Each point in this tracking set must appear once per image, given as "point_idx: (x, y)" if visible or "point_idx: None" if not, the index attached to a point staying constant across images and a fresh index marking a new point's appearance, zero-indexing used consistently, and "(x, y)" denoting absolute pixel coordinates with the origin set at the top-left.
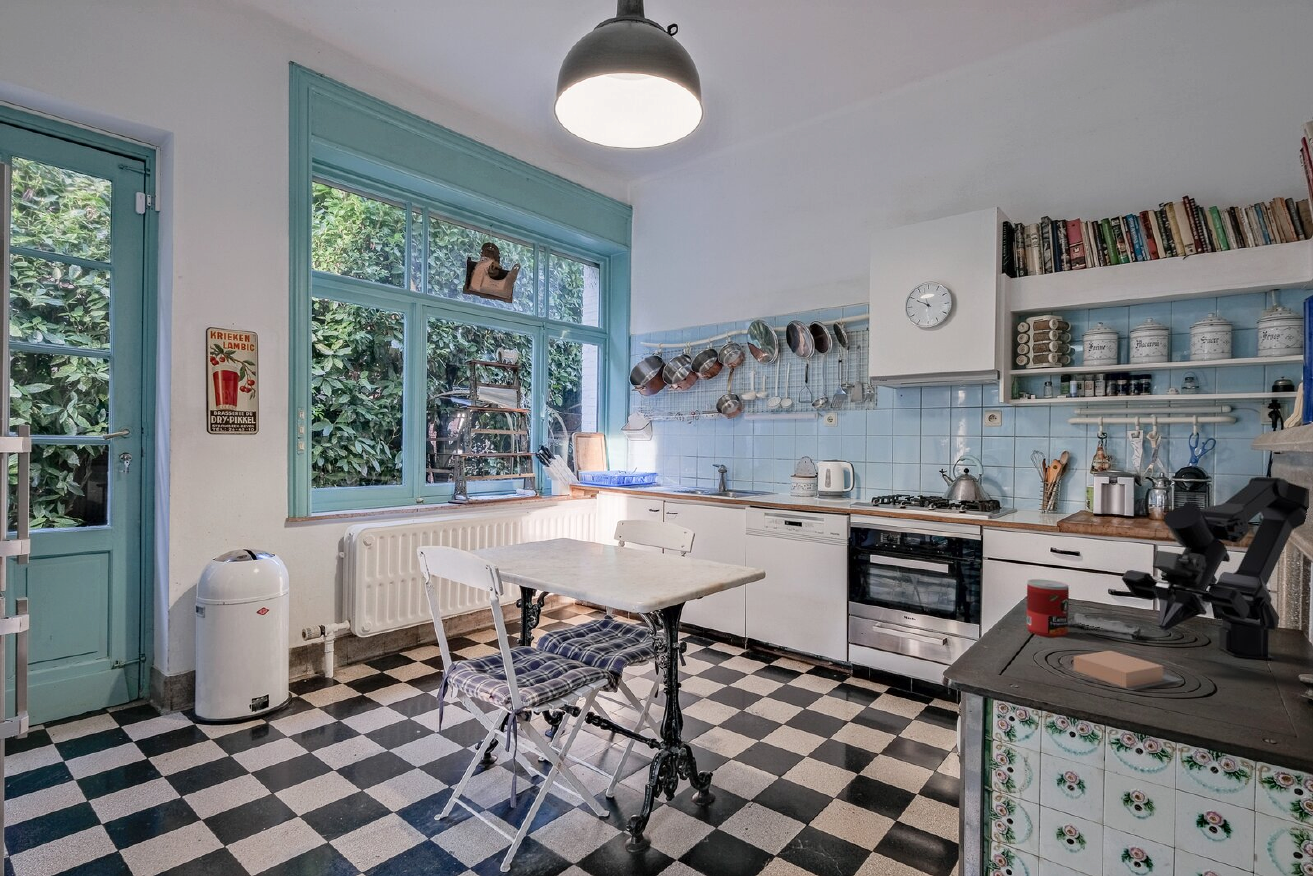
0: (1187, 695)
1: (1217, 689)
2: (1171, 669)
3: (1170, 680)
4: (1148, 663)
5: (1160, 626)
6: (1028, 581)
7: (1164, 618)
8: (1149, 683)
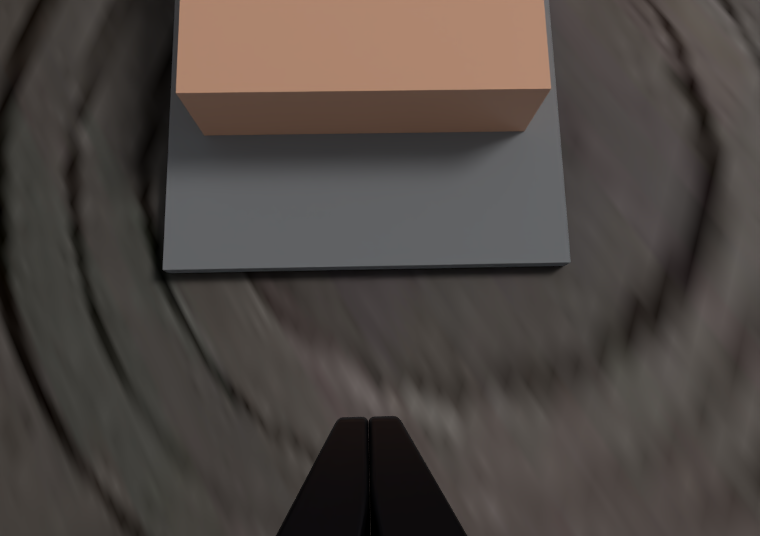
0: (43, 78)
1: (13, 358)
2: None
3: (184, 177)
4: (249, 51)
5: (383, 420)
6: None
7: (373, 512)
8: None
